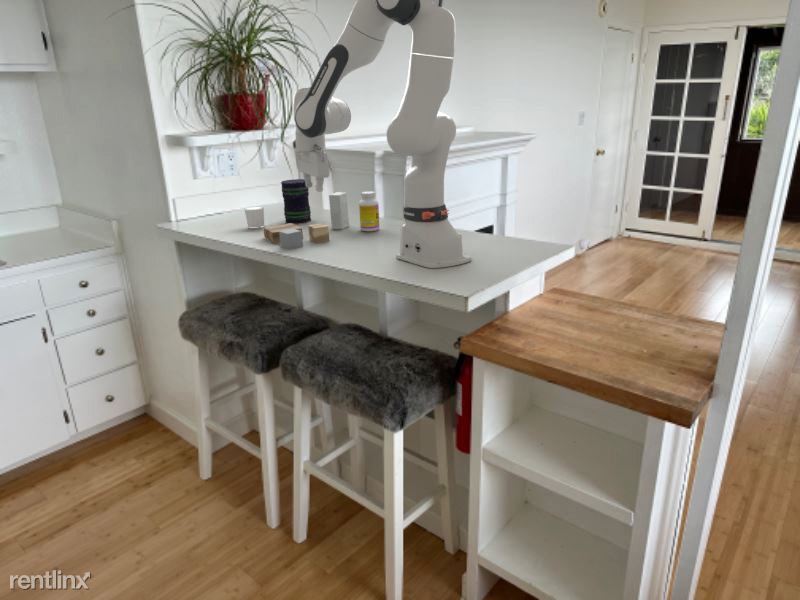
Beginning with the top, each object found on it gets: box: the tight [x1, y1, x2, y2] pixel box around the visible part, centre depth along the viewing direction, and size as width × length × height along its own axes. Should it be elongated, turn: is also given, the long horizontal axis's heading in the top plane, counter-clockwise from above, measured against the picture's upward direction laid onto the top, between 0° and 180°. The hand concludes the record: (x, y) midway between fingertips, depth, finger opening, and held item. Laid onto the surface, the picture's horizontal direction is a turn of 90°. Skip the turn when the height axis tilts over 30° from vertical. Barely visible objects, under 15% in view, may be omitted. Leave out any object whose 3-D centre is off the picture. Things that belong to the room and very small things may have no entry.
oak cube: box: [308, 222, 330, 244], centre depth 182 cm, size 5×5×5 cm
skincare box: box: [328, 191, 350, 230], centre depth 198 cm, size 6×4×12 cm
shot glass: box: [243, 206, 265, 228], centre depth 205 cm, size 7×7×7 cm
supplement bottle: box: [358, 190, 381, 232], centre depth 193 cm, size 7×7×13 cm
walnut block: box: [262, 223, 304, 245], centre depth 187 cm, size 10×10×4 cm
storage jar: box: [280, 178, 312, 225], centre depth 211 cm, size 10×10×15 cm
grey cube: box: [279, 229, 304, 250], centre depth 176 cm, size 5×5×5 cm
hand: (314, 189), depth 178 cm, fingers open, 8 cm apart
